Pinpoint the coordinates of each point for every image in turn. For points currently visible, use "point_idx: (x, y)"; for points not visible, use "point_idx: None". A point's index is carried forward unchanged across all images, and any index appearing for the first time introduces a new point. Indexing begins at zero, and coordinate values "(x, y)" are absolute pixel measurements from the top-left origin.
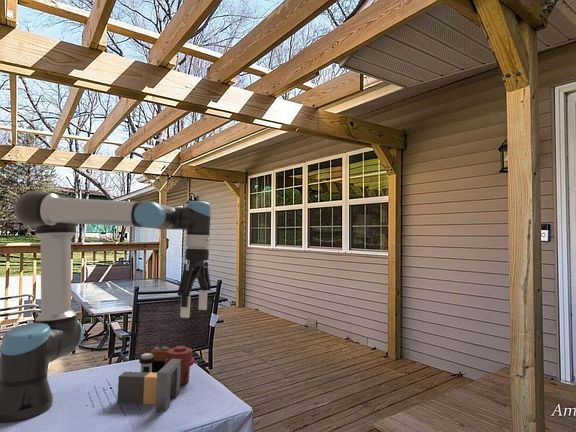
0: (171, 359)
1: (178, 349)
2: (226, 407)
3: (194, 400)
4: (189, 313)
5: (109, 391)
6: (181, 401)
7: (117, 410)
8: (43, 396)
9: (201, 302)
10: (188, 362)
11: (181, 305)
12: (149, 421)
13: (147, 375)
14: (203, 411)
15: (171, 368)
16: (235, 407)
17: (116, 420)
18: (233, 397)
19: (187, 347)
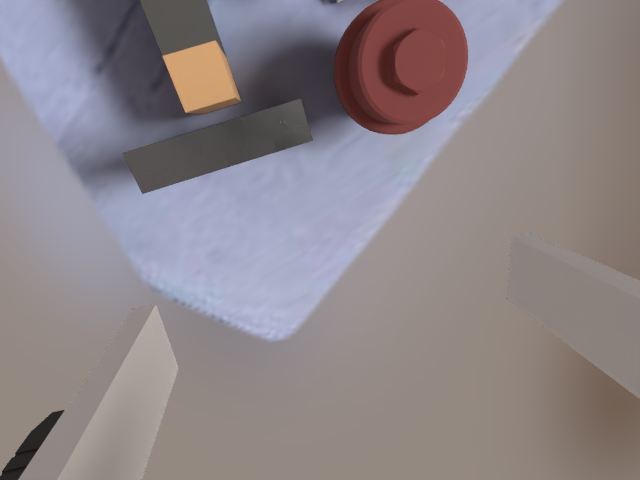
0: (291, 102)
1: (393, 68)
2: (271, 298)
3: (273, 204)
4: (165, 395)
5: None
6: (253, 174)
7: (107, 17)
8: None
9: (561, 292)
10: (374, 129)
11: (33, 433)
12: (109, 167)
13: (182, 56)
14: (227, 261)
15: (194, 176)
16: (279, 315)
17: (57, 68)
18: (329, 285)
19: (463, 71)
